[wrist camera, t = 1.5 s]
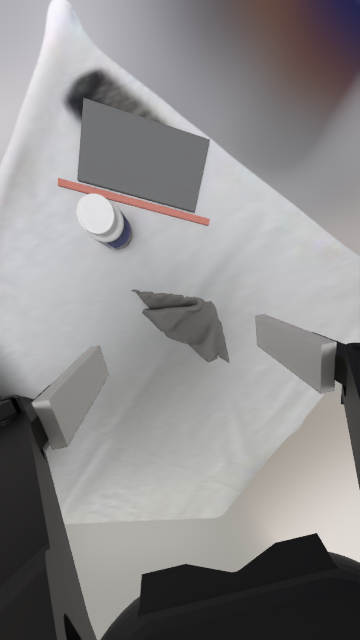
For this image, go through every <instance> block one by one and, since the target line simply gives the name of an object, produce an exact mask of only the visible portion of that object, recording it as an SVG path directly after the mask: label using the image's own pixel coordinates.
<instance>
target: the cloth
mask: <svg viewBox="0 0 360 640" xmlns="http://www.w3.org/2000/svg"><path fill="white" fill-rule="evenodd" d="M132 291H135V292H136V293H137V294H138V295H139V297H140V298H141V299H142V300H143V302H144V303H145V304H146V305H147V306H148V307H149V308H150V309H145V310H143V312H142V313H143V314H144V315H145V316H146V317H148V318H149V319H150V320H151V321H152V322H153V323H154V324H155V325H156V327H157V328H158V329H159V330H160V331H162V332H165V334H166V336H167V337H169V338H171V339H174V340H177V341H180V342H183V343H188V344H189V345H190V346H191V347H192V348H193V349H194V350H195V351H196V352H197V353H198V354H199V355H200V356H201V357H203V358H204V359H205V360H206V361H207V362H210V361H213V360H215V359H217V356H218V355H219V357H220V358H222V359H224V360H225V361H227V362H229V358H228V353H227V349H226V343H225V338H224V334H223V330H222V325H221V322H220V321H219V320H218V316H217V312H216V308H215V306H214V304H213V303H212V302H211V301H210V302H205V301H204V300H203V299H200V298H196V297H194V298H193V297H185V298H184V297H183V295H173V294H165V293H158V294H154V293H153V292H140V291H138V290H132ZM168 307H175V308H168ZM161 308H163V309H161Z"/></svg>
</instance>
